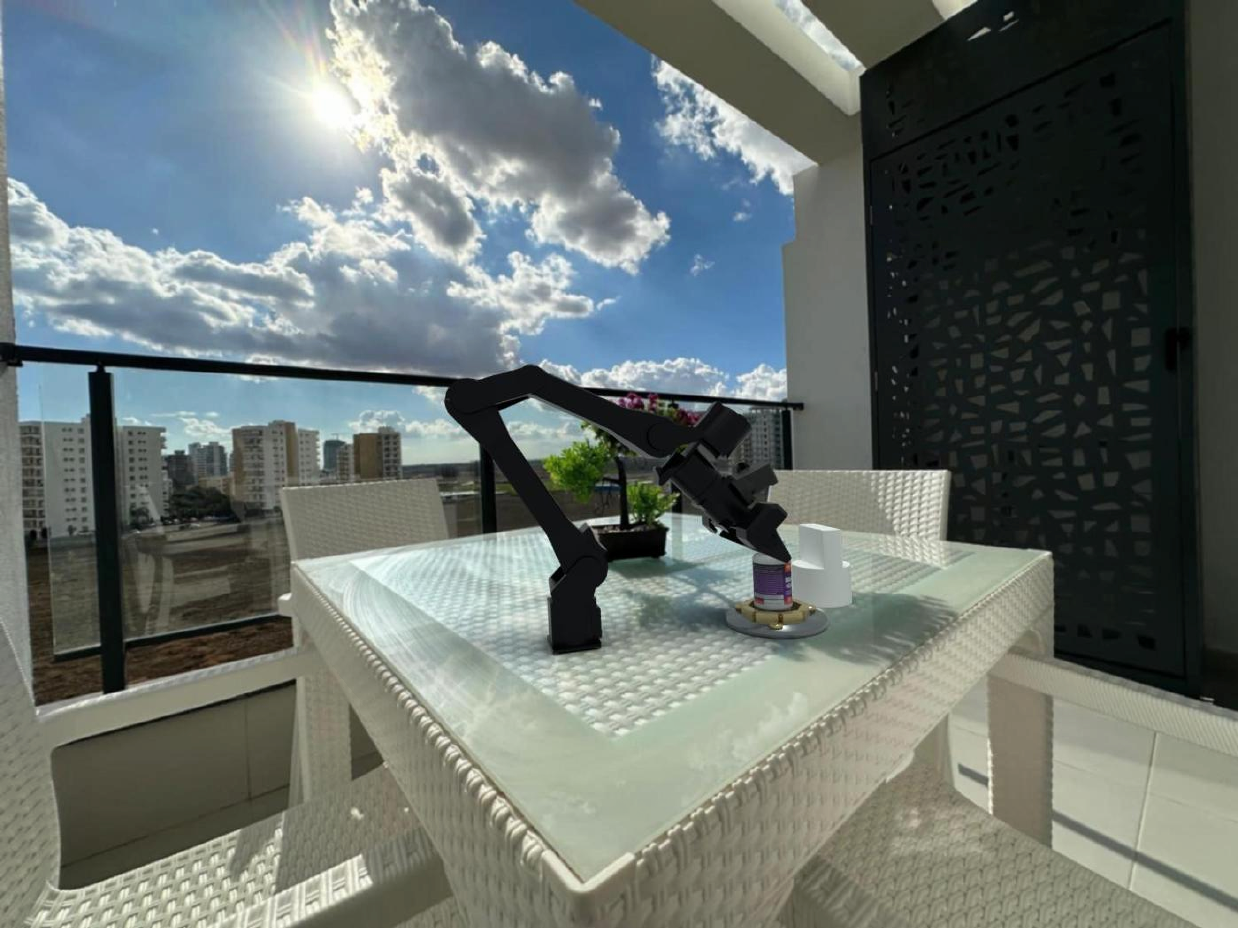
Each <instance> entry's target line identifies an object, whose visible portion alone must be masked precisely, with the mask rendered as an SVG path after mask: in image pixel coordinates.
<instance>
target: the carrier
mask: <svg viewBox="0 0 1238 928" xmlns="http://www.w3.org/2000/svg"><path fill="white" fill-rule="evenodd" d="M725 622H726V625H727V626H728V628H730V629H731V630H733V631H734V632H738V633H739V634H743V635H747V636H751V637H755V638H756V637H758V638H763V639H764V638H765V639H774V640H775V639H777V640H780V639H781V640H789V639H794V640H795V639H801V638H802V639H803V638H808V637H812V636H817V635H819V634H822V633H823V632H825V631H826V630H827V628H828V624H829V623H828V616H827V615H826V613H824V612H823V611H821V610H819V609H817V607H816V606H814V605H808V604H807V603H805V602H803V601H800V600H798V599H793V605H792V607H791V608H789V609H785V610H765V609H761V608H758V607H757V606H755V604H754V597H751V598H749V599H746V600H744V601H743V603H741V602H740V603H739V602H737V603H734V607H731V608H729V609H728V610H727V611H726V612H725Z"/></svg>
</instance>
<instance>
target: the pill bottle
mask: <svg viewBox="0 0 1238 928" xmlns="http://www.w3.org/2000/svg"><path fill="white" fill-rule="evenodd" d="M780 538H781V540H782V541H783V543H784V545H785V546H786V538H783V537H780ZM751 561H752V564H751V565H752V584H753V585H752V586H753V587H752V588H753V598H754V604H755V606H757V607H758V608H761V609H765V610H785V609H789V608H791V607H792V605H793V580H792V559H791V560H790V561H789V563H784V562H782V561H779V560H777V559H774V558H772V557H770V556H767V555H765V554H762V553H760V552H756V553H754V554H753V555H752V559H751Z"/></svg>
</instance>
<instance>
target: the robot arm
mask: <svg viewBox="0 0 1238 928" xmlns="http://www.w3.org/2000/svg"><path fill="white" fill-rule="evenodd" d="M529 399H534V400H536V401H539V402H541V403H543V404H545V405H548V406H550V407H552V408H555V409H557V410H559V411H561V412H563V413H566V414H567V415H570V416H572V417H574V418H577V419H579V420H581V421H583V422H586V423H587V424H590V425H592V426H594V427H596V428H598V429H601V430H603V431H605V432H607V433H608V434H610V435H611V436H613V437H614V438H615V439H616V440H617V441H618V442H620V443H622V444H623V445H624V446H626V448H628V449H630V450H631V451H633V452H634V453H635V454H637V455H639V456H640V457H642V458H646V459H663V458H666V457H668V456H670V457H669V458H668V459H666V461H665V462H664V463H663V464H662V465H661V466H653V467H652V471H653V472H652V473H653V483H652V484H653V485H654V486H656V487H663V486H665V485H666V483H667V482H668V481H670V482H671V483H672V484H673V485H674V486H675V487H676V488H677V489H678V490H680V491H681V492H682V493H683V494H684V495H685V496H686V497H687V498H688V499H689V500H690V501H691V502H690V504H691V505H692V506H693V507H694V508H696V509H699V510H700V511H701V512H703V514H702V515H701V525H702V526H703V527H704V528H705V529H707V530H708V531H709V532H710V533H712V534H714V535H716V534H717V533H718V532H719V530H721V531H720V533H719V534H718V537H720V538H723V539H724V540H728V541H730V542H732V543H735V544H737V545H739V546H742V547H744V548H746V549H749V550H752V551H754V552H756V553H758V552H760V553H762V554H765V555H767V556H770V557H772V558H774V559H777V560H779V561H782V562H784V563H789V561H790V560H791V561H792V556H791V554H790V552H789V550H788V548H787V547H786V544H785V545H784V543H783V541H782V540H781V538H782V537H781V536H780V534H779V532H778V528H779V527H781V525H782V523H784V521H785V520H786V519H787V517H788V512H787V511H786V510H785V509H784V508H783V507H782V506H781V504H779V503H777V502H772V501H771V502H770V501H758V502H756V503H755V504H754V505H753V503H754V502H755V501H756V500H757V499H758V498H757V497H756V496H755V495H756V494H757V493H760V492H762V491H763V490H765V489H767V488H768V487H770V486H771V487H772V486H775V485H777V484H778V483H779V479H778V477H777V475H776V473H775V471H774V469H773V467H772V465H771V463H770V461H759V462H753V463H751V464H748V463H747V462H746V461H738V462H737V463H735V464H732V467H731V468H732V471H731V472H732V474H722V472H721V471H720V470H718V469H717V467H716V466H714V465H713V463H711V462H710V461H713V462H716V461H718V459H719V460H721V461H727V460H729V458H730V457H731V456H732V454H733V453H734V452H735V451H736V450H737V448H738V447H739V446H740V445H741V444H742V443H743V442H744V441H745V439H747V437H748V436H749V435H750V434H751V433H752V432H753V427H752V425H751V423H750V422H749V421H748V419H746V417H745V416H744V415H743V414H742V413H739V412H737V411H736V410H734V409H732V408H731V407H728V406H726V405H724V404H723V403H722V402H721V401H720V400H717V401H714V402H712V403H711V404H710V405H709V406H708V407H707V409H706V411H705V412H704V414H703V415H702V416H701V417H700V418H699V419H698V421H696V423H695V424H694V425H693V426H692V425H690V424H689V425H681V424H677V423H676V422H675V421H674V420H673V419H671V418H670V417H668V416H665V415H662V414H657V413H655V412H649V411H647V410H642V409H637V408H636V409H635V408H631V407H626V406H623V405H620V404H617V403H616V402H613V401H611V400H608V399H606V398H604V397H602V396H600V395H598V394H596V393H593V392H592V391H589V390H587V389H585V388H583V387H580V386H579V385H576V384H574V383H572V382H570V381H568V380H566V379H563V378H561V377H559V376H558V375H556V374H555V375H554V374H553V373H550V372H548V371H546V370H545V369H543V368H542V367H541V366H539V365H538V364H534V363H531V364H525V365H523V366H521V367H518V368H516V369H512V370H510V371H503V372H501V373H496V374H492V375H488V376H486V377H483V378H480V379H476V378H471V377H465V378H463V377H462V378H459V379H457V380H455V381H453V382H452V383H451V384H450V385H449V386H448V387H447V389H446V391H445V393H444V399H443V404H444V408H445V410H446V412H447V413H448V414H449V416H450V417H451V418H452V419H453V420H454V421H455V422H456V423H457V424H459V426H460V427H461V428H462V429H463V430H464V431H466V433H468V435H469V436H471V438H472V439H474V441H476V442H477V443H478V444H479V445H480V446H481V447H482V448H483V449H484V450H485V451H486V452H487V453H488V455H489V456H490V458H492V460H493V461H494V463H495V464H496V466H497V468H499V470H500V471H501V473H502V475H503V476H504V477H505V478H506V480H507V482H508V483H509V484H510V486H511V487H512V488H513V490H514V491H515V493H516V494H517V495H518V497H519V498H520V500H521V501H522V503H523V504H524V506H525V507H526V508H527V510H528V511H529V512H530V514H531V515H532V516H533V518H534V519H535V521H536V522H537V524H538V525H539V526H540V528H541V530H542V531H543V533H545V535H546V537H547V538H548V541H549V543H550V546H551V547H552V550H553V553H554V554H555V557H556V559H557V561H558V563H559V566H558V567H557V568H556V570H554V572H553V573H552V574H551V575H550V576H549V577H548V587H549V595H550V597H546V598H547V599H546V601H547V603H546V604H547V620H548V623H547V624H548V634H547V635H546V638H547V639H546V640H547V642H548V644H549V647H550V650H551V652H552V653H553V654H554V655H555V654H563V653H569V652H576V651H582V650H589V649H595V648H596V649H597V648H601V647H602V646H603V645H602V641H601V639H602V638H603V625H602V608H601V607H600V606H599V605H598V603H597V597H596V595H595V594H596V591H597V588H599V587H600V586H601V585H603V583H604V582H605V581H606V579H607V577H608V573H609V568H610V566H609V562H608V560H607V558H606V556H605V555H604V554H607V553H608V550H607V548H605V546H604V545H603V544H602V543H601V542H600V541H598V540H597V539H596V536H595V534H594V532H593V529H592V528H591V526H590V525H589V524H588V523H587V522H584V523H582V525H580V527H578V526H577V525H576V524H575V523H574V522H573V521H572V520H571V519H569V517H568V516H567V515H566V514H565V512H564V511H563V510H562V508H561V506H560V505H559V504H558V502H557V500H556V499H555V497H554V496H553V495H552V494H551V492H550V491H549V490H548V487H546V485H545V484H544V482H543V481H542V479H541V478H540V476H539V474H538V473H537V472H536V470H534V468H533V466H532V465H531V464H530V462H529V461H528V460H527V458H526V456H525V455H524V453H523V452H522V451H521V449H520V448H519V446H518V445H517V444H516V442H515V441H514V440H513V438H512V436H511V434H510V432H509V430H508V428H507V425H506V424H505V421H504V418H503V417H502V414H501V412H500V411H503V410H506V409H508V408H511V407H513V406H515V405H517V404H520V403H522V402H524V401H527V400H529ZM683 445H688V446H686V448H684V450H682V452H681V453H680V452H677V451H676V450H677V448H678V447H680V446H683ZM707 458H708V459H707ZM709 460H710V461H709ZM750 505H751V506H752V505H753V506H752V508H750ZM717 528H718V529H719V530H718V529H717Z"/></svg>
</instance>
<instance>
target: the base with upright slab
mask: <svg viewBox="0 0 1238 928" xmlns="http://www.w3.org/2000/svg"><path fill="white" fill-rule="evenodd" d="M797 525H798V528H797V529H798V545H799V546H798V547H799V559H796V560H793V561H791V572H792V596H793V599H798V600H800V601H803V602H805V603H807V604H808V605H814V606H816V608H821V609H822V608H823V609H824V608H827V609H830V608H831V609H832V608H835V609H836V608H843V607H847V606H849V605H851V604H852V603H853V593H852V592H853V590H852V571H851V563H850V562H848V561H845V560H843V545H842V529H839V528H835V527H831V526H827V525H822V524H819V523H800V524H797ZM846 605H847V606H846Z"/></svg>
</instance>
